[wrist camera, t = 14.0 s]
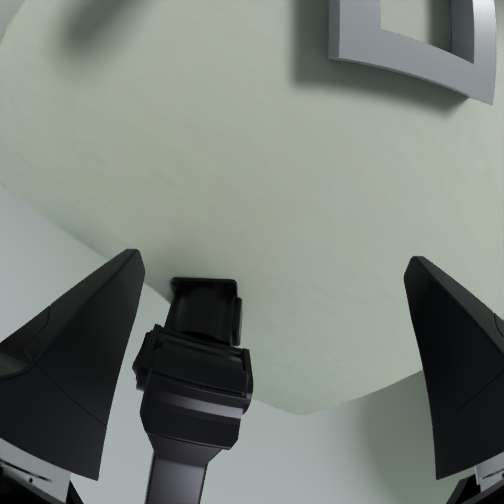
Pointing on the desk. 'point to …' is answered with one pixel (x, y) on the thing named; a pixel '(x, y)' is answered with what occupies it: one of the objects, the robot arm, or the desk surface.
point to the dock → (420, 46)
